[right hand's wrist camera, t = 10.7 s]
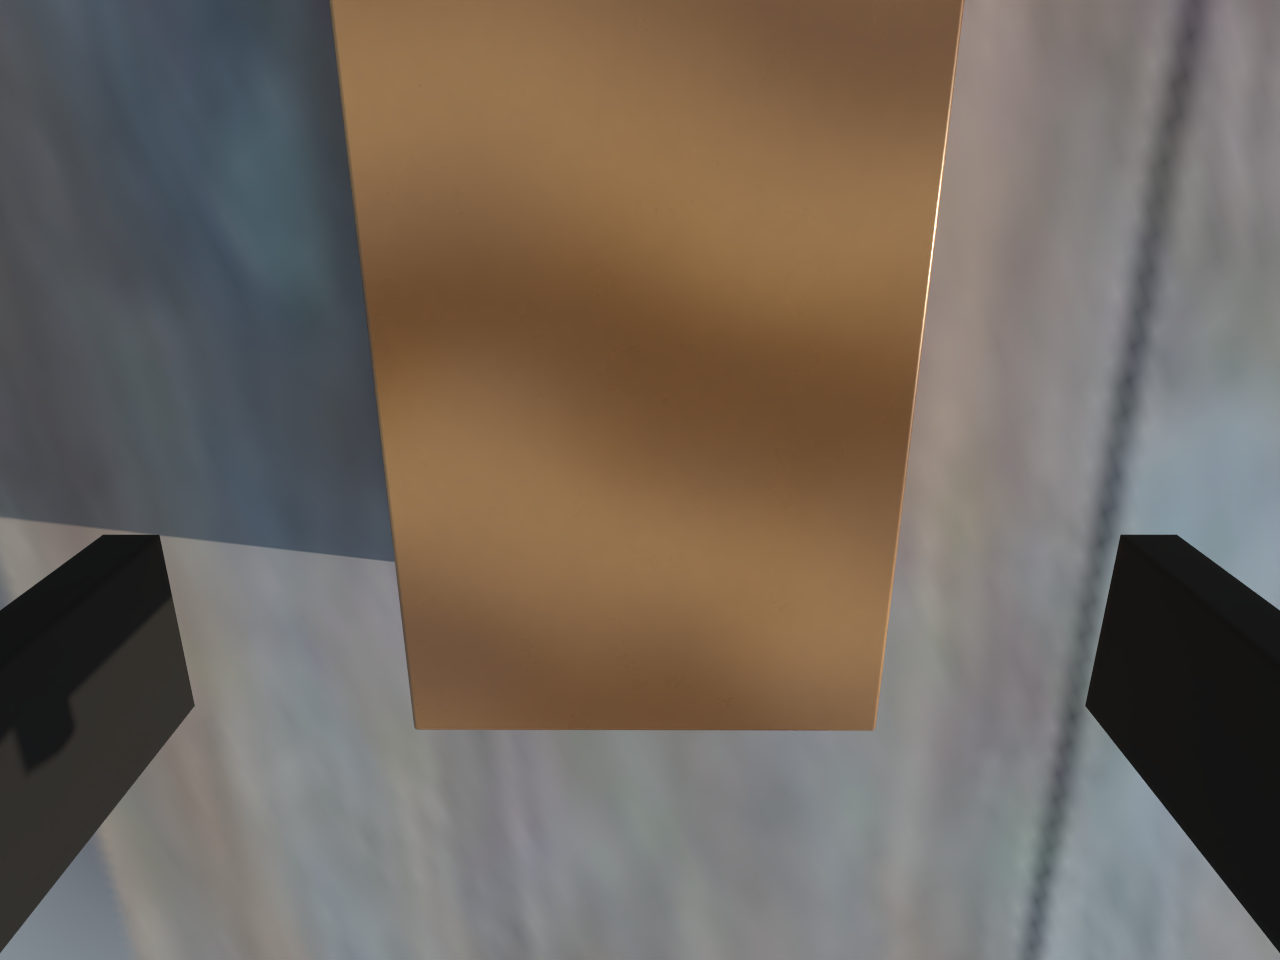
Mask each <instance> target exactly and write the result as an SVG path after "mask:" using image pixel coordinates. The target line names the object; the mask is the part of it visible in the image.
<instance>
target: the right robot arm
mask: <svg viewBox="0 0 1280 960" xmlns="http://www.w3.org/2000/svg"><path fill="white" fill-rule="evenodd" d="M194 706H195V705H194V700H193V696H192V691H191V686H190V681H189V676H188V671H187V666H186V662H185V657H184V652H183V647H182V642H181V637H180V633H179V628H178V623H177V618H176V613H175V608H174V604H173V599H172V594H171V589H170V584H169V579H168V575H167V570H166V565H165V560H164V555H163V550H162V545H161V541H160V536H159V535H102V536H101V537H100V538H98V539H97V540H95V541H94V542H93V543H91V544H90V545H89V546H87V547H86V548H85V549H83V550H82V551H81V552H79V553H78V554H76V555H75V556H74V557H72V558H71V559H70V560H68V561H67V562H66V563H64V564H63V565H61V566H60V567H59V568H57V569H56V570H55V571H53V572H52V573H51V574H49V575H48V576H47V577H45V578H44V579H42V580H41V581H40V582H38V583H37V584H36V585H34V586H33V587H32V588H30V589H29V590H28V591H26V592H25V593H23V594H22V595H21V596H19V597H18V598H17V599H15V600H14V601H13V602H11V603H10V604H8V605H7V606H6V607H4V608H3V609H2V610H0V952H1V951H2V950H3V949H4V947H5V946H6V945H7V944H8V942H9V941H10V940H11V939H12V937H13V936H14V935H15V933H16V932H17V931H18V930H19V928H20V927H21V926H22V925H23V923H24V922H25V921H26V919H27V918H28V917H29V916H30V914H31V913H32V912H33V911H34V909H35V908H36V907H37V906H38V904H39V903H40V902H41V900H42V899H43V898H44V897H45V895H46V894H47V893H48V891H49V890H50V889H51V888H52V886H53V885H54V884H55V883H56V881H57V880H58V879H59V878H60V876H61V875H62V874H63V872H64V871H65V870H66V869H67V867H68V866H69V865H70V863H71V862H72V861H73V860H74V858H75V857H76V856H77V855H78V853H79V852H80V851H81V850H82V848H83V847H84V846H85V844H86V843H87V842H88V841H89V839H90V838H91V837H92V836H93V834H94V833H95V832H96V831H97V829H98V828H99V827H100V825H101V824H102V823H103V822H104V820H105V819H106V818H107V817H108V815H109V814H110V813H111V811H112V810H113V809H114V808H115V806H116V805H117V804H118V803H119V801H120V800H121V799H122V797H123V796H124V795H125V794H126V792H127V791H128V790H129V789H130V787H131V786H132V785H133V783H134V782H135V781H136V780H137V778H138V777H139V776H140V775H141V773H142V772H143V771H144V770H145V768H146V767H147V766H148V764H149V763H150V762H151V761H152V759H153V758H154V757H155V756H156V754H157V753H158V752H159V750H160V749H161V748H162V747H163V745H164V744H165V743H166V742H167V740H168V739H169V738H170V736H171V735H172V734H173V733H174V731H175V730H176V729H177V728H178V726H179V725H180V724H181V722H182V721H183V720H184V719H185V717H186V716H187V715H188V714H189V712H190V711H191V710H192V709H193V707H194ZM1085 706H1086V707H1087V709H1088V710H1089V711H1090V712H1091V714H1092V715H1093V716H1094V717H1095V719H1096V720H1097V721H1098V722H1099V724H1100V725H1101V726H1102V728H1103V729H1104V730H1105V731H1106V733H1107V734H1108V735H1109V736H1110V738H1111V739H1112V740H1113V742H1114V743H1115V744H1116V745H1117V747H1118V748H1119V749H1120V750H1121V752H1122V753H1123V754H1124V756H1125V757H1126V758H1127V759H1128V761H1129V762H1130V763H1131V764H1132V766H1133V767H1134V768H1135V770H1136V771H1137V772H1138V773H1139V775H1140V776H1141V777H1142V778H1143V780H1144V781H1145V782H1146V783H1147V785H1148V786H1149V787H1150V789H1151V790H1152V791H1153V792H1154V794H1155V795H1156V796H1157V797H1158V799H1159V800H1160V801H1161V803H1162V804H1163V805H1164V806H1165V808H1166V809H1167V810H1168V811H1169V813H1170V814H1171V815H1172V817H1173V818H1174V819H1175V820H1176V822H1177V823H1178V824H1179V825H1180V827H1181V828H1182V829H1183V831H1184V832H1185V833H1186V834H1187V836H1188V837H1189V838H1190V839H1191V841H1192V842H1193V843H1194V845H1195V846H1196V847H1197V848H1198V850H1199V851H1200V852H1201V853H1202V855H1203V856H1204V857H1205V858H1206V860H1207V861H1208V862H1209V864H1210V865H1211V866H1212V867H1213V869H1214V870H1215V871H1216V872H1217V874H1218V875H1219V876H1220V878H1221V879H1222V880H1223V881H1224V883H1225V884H1226V885H1227V886H1228V888H1229V889H1230V890H1231V892H1232V893H1233V894H1234V895H1235V897H1236V898H1237V899H1238V900H1239V902H1240V903H1241V904H1242V906H1243V907H1244V908H1245V909H1246V911H1247V912H1248V913H1249V914H1250V916H1251V917H1252V918H1253V919H1254V921H1255V922H1256V923H1257V925H1258V926H1259V927H1260V928H1261V930H1262V931H1263V932H1264V933H1265V935H1266V936H1267V937H1268V939H1269V940H1270V941H1271V942H1272V944H1273V945H1274V946H1275V947H1276V949H1277V950H1278V951H1279V953H1280V610H1278V609H1277V608H1276V607H1274V606H1273V605H1272V604H1270V603H1269V602H1267V601H1266V600H1265V599H1263V598H1262V597H1261V596H1259V595H1258V594H1257V593H1255V592H1254V591H1252V590H1251V589H1250V588H1248V587H1247V586H1246V585H1244V584H1243V583H1242V582H1240V581H1239V580H1238V579H1236V578H1235V577H1233V576H1232V575H1231V574H1229V573H1228V572H1227V571H1225V570H1224V569H1223V568H1221V567H1220V566H1219V565H1217V564H1216V563H1214V562H1213V561H1212V560H1210V559H1209V558H1208V557H1206V556H1205V555H1204V554H1202V553H1201V552H1199V551H1198V550H1197V549H1195V548H1194V547H1193V546H1191V545H1190V544H1189V543H1187V542H1186V541H1185V540H1183V539H1182V538H1180V537H1179V536H1178V535H1121V536H1120V541H1119V545H1118V550H1117V555H1116V560H1115V565H1114V570H1113V575H1112V579H1111V584H1110V589H1109V594H1108V599H1107V604H1106V608H1105V613H1104V618H1103V623H1102V628H1101V633H1100V637H1099V642H1098V647H1097V652H1096V657H1095V662H1094V666H1093V671H1092V676H1091V681H1090V686H1089V691H1088V695H1087V700H1086V705H1085Z"/></svg>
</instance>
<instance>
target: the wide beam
mask: <svg viewBox="0 0 1280 960" xmlns="http://www.w3.org/2000/svg"><path fill="white" fill-rule="evenodd" d="M329 3H330V11H331V20H332V28H333V37H334V45H335V54H336V63H337V71H338V80H339V88H340V97H341V105H342V114H343V122H344V131H345V139H346V148H347V156H348V165H349V173H350V182H351V191H352V199H353V208H354V216H355V225H356V233H357V242H358V250H359V259H360V267H361V276H362V284H363V293H364V302H365V310H366V319H367V327H368V336H369V344H370V353H371V361H372V370H373V378H374V387H375V395H376V404H377V412H378V421H379V430H380V438H381V447H382V455H383V464H384V472H385V481H386V489H387V498H388V506H389V515H390V523H391V532H392V540H393V549H394V558H395V566H396V575H397V583H398V592H399V600H400V609H401V617H402V626H403V634H404V643H405V651H406V660H407V668H408V677H409V686H410V694H411V703H412V711H413V720H414V727H415V729H418V730H874V729H875V727H876V719H877V711H878V703H879V694H880V686H881V678H882V670H883V662H884V653H885V645H886V637H887V629H888V621H889V613H890V604H891V596H892V588H893V580H894V572H895V564H896V555H897V547H898V539H899V531H900V523H901V515H902V506H903V498H904V490H905V482H906V474H907V466H908V457H909V449H910V441H911V433H912V425H913V417H914V408H915V400H916V392H917V384H918V376H919V368H920V359H921V351H922V343H923V335H924V327H925V318H926V310H927V302H928V294H929V286H930V278H931V269H932V261H933V253H934V245H935V237H936V229H937V220H938V212H939V204H940V196H941V188H942V180H943V171H944V163H945V155H946V147H947V139H948V131H949V122H950V114H951V106H952V98H953V90H954V82H955V73H956V65H957V57H958V49H959V41H960V33H961V24H962V16H963V8H964V0H329Z"/></svg>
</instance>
